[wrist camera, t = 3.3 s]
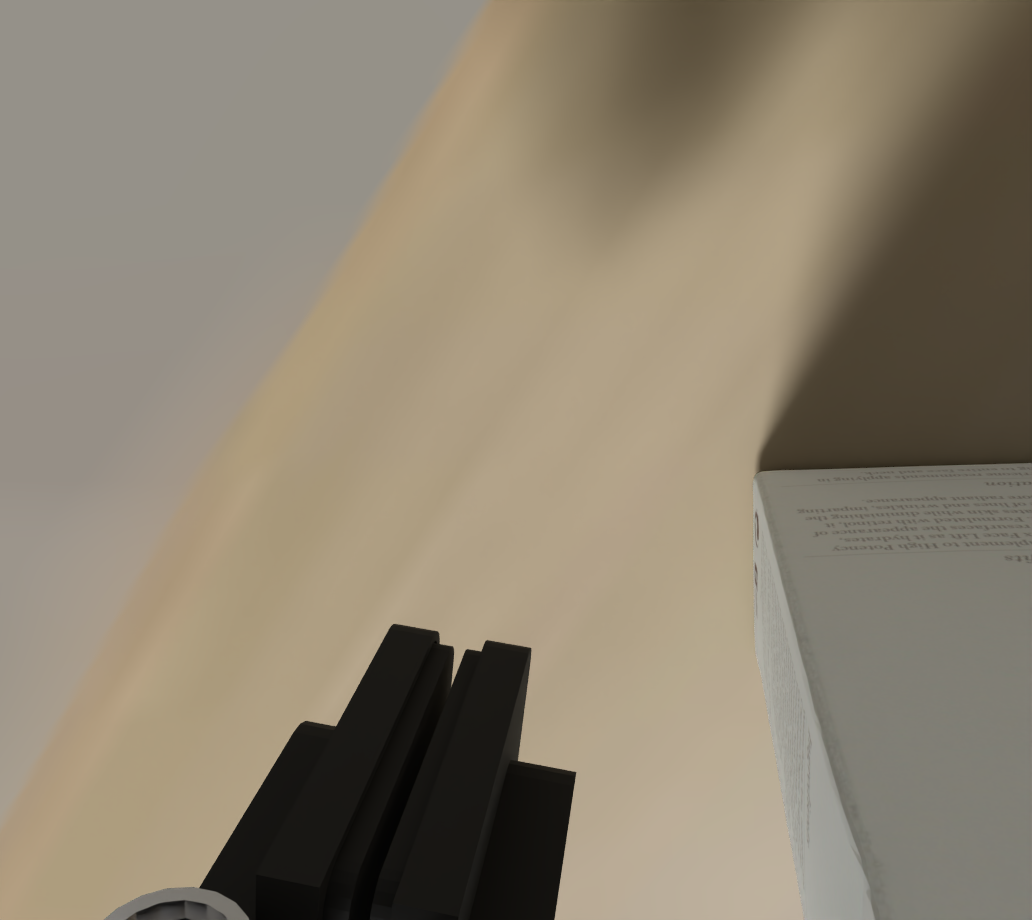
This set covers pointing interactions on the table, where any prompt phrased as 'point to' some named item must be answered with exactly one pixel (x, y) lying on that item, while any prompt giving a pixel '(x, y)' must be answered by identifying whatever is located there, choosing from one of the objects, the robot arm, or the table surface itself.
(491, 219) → the table surface
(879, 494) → the skincare box
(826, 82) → the table surface
